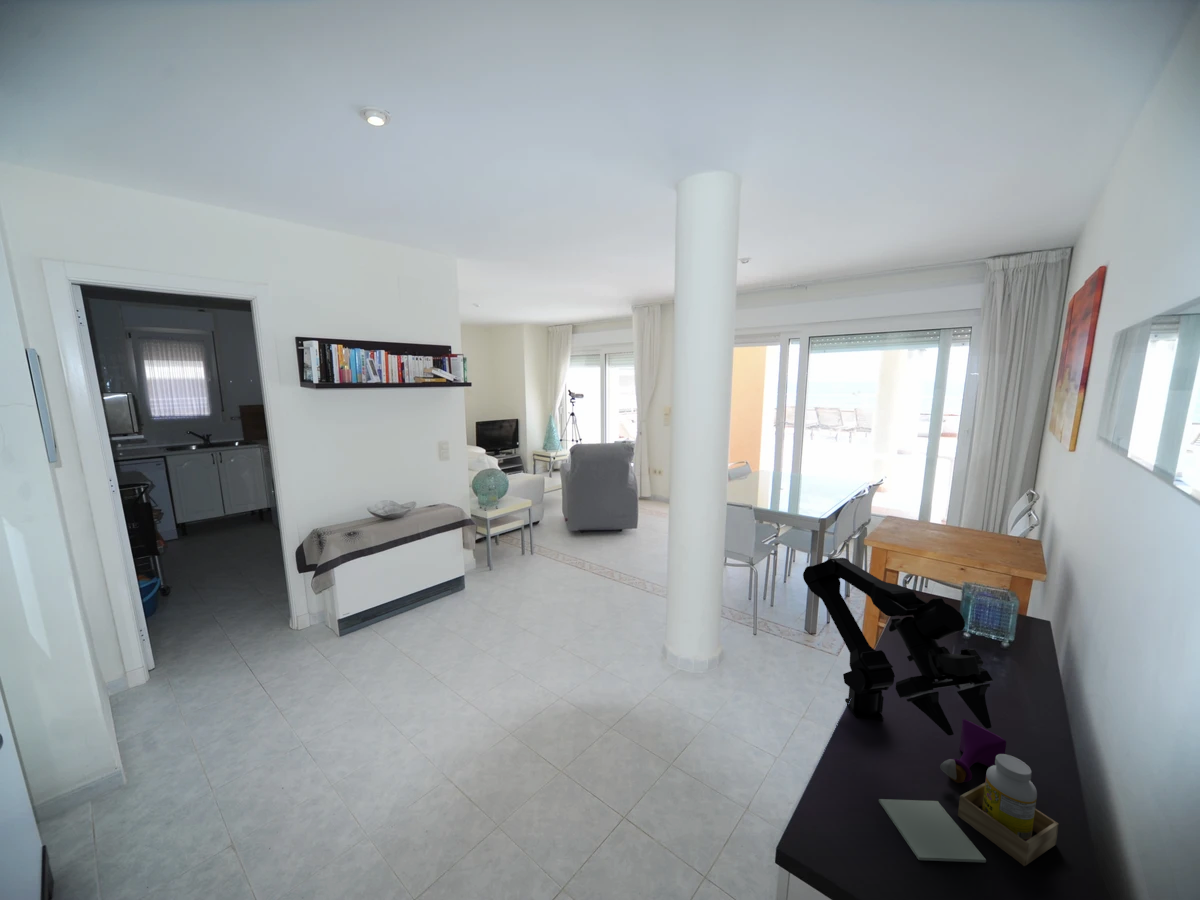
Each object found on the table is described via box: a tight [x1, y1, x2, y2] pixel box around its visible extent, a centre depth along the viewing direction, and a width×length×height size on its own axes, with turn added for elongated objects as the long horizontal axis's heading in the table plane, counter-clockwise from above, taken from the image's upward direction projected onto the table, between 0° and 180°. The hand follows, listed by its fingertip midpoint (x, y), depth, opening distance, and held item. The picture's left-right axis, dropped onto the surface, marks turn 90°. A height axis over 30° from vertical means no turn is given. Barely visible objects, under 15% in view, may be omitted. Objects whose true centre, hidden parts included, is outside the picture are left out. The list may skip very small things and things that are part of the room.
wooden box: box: [957, 782, 1059, 867], centre depth 80 cm, size 10×10×4 cm
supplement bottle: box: [981, 753, 1038, 841], centre depth 79 cm, size 7×7×13 cm
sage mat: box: [878, 798, 987, 863], centre depth 80 cm, size 11×11×1 cm
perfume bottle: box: [939, 718, 1007, 784], centre depth 92 cm, size 8×8×18 cm
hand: (970, 731), depth 86 cm, fingers open, 9 cm apart
